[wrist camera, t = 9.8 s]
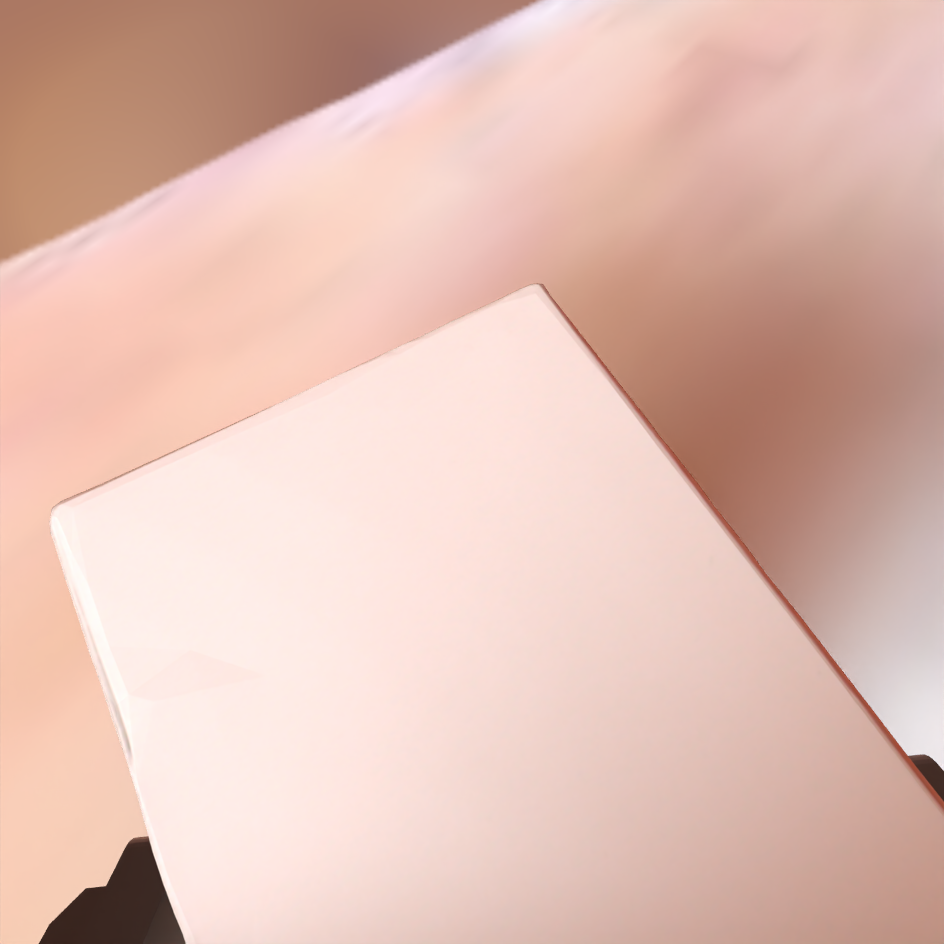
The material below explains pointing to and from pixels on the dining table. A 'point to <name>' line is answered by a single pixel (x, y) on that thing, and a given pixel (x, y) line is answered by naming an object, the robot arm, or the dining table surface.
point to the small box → (482, 675)
